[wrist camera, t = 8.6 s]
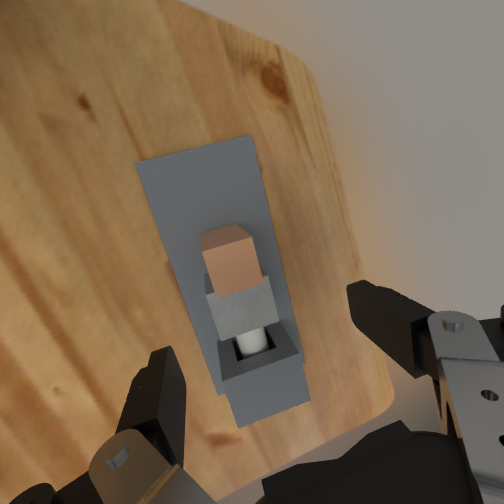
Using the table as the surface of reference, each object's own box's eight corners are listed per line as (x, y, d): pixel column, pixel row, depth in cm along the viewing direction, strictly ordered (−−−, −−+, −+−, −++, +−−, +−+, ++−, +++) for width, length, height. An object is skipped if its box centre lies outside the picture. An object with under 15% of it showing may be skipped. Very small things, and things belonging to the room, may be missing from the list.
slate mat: (135, 163, 26) (134, 162, 26) (250, 135, 28) (251, 134, 27) (217, 392, 34) (218, 395, 33) (303, 360, 36) (304, 363, 35)
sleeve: (203, 274, 29) (205, 295, 24) (254, 259, 30) (268, 275, 25) (216, 313, 31) (221, 341, 25) (264, 297, 32) (279, 321, 26)
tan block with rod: (200, 233, 28) (201, 251, 20) (236, 223, 29) (251, 236, 20) (242, 366, 33) (257, 425, 25) (272, 355, 33) (296, 409, 25)
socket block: (216, 341, 32) (221, 381, 25) (278, 319, 33) (299, 352, 26) (230, 380, 33) (238, 428, 27) (288, 359, 34) (310, 400, 28)
